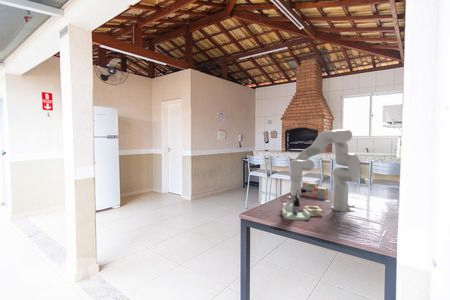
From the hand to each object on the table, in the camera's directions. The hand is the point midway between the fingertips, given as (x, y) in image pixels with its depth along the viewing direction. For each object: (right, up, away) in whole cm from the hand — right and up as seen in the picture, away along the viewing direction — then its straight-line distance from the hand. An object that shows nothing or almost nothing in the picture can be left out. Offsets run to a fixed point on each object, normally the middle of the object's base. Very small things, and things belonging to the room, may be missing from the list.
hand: (295, 204), depth 153 cm
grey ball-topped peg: (-1, -7, +12) cm, 14 cm away
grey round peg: (0, -6, 0) cm, 6 cm away
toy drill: (+12, -7, +25) cm, 28 cm away
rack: (0, -8, 0) cm, 8 cm away
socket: (+14, -8, +7) cm, 18 cm away
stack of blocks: (+34, -6, +55) cm, 66 cm away
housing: (-1, -8, +12) cm, 15 cm away
